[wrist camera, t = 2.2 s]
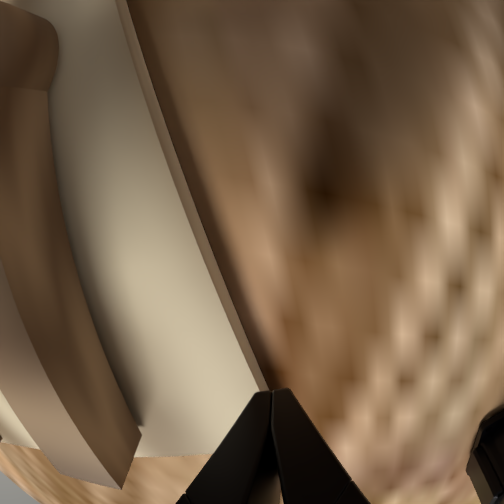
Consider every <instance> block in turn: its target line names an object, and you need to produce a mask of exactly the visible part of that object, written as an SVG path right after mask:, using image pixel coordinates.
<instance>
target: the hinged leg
mask: <svg viewBox="0 0 504 504" xmlns="http://www.w3.org/2000/svg"><path fill="white" fill-rule="evenodd" d="M58 56H59V41H58V35H57V32H56V30H55V28H54V26H53V25H52V24H51V23H50V22H49V21H48V20H47V19H45V18H42V17H40V16H38V15H35V14H33V13H30V12H28V11H26V10H23V9H21V8H18V7H16V6H13V5H11V4H8V3H5V2H3V1H0V390H1V392H2V394H3V395H4V397H5V399H6V400H7V402H8V403H9V405H10V407H11V408H12V410H13V411H14V413H15V414H16V416H17V417H18V419H19V420H20V422H21V423H22V425H23V426H24V428H25V429H26V431H27V432H28V433H29V435H30V436H31V438H32V439H33V440H34V442H35V443H36V444H37V446H38V447H39V448H40V450H41V451H42V452H43V453H44V455H45V456H46V457H47V458H48V460H49V461H50V462H51V463H52V465H53V466H54V467H55V468H56V469H57V471H58V472H59V473H60V474H63V475H66V476H69V477H73V478H76V479H80V480H83V481H87V482H91V483H94V484H98V485H102V486H107V487H111V488H116V489H120V490H122V487H123V485H124V482H125V479H126V476H127V474H128V471H129V468H130V466H131V463H132V460H133V458H134V455H135V453H136V450H137V447H138V445H139V442H140V439H141V437H142V434H141V432H140V430H139V428H138V426H137V424H136V422H135V420H134V418H133V416H132V414H131V412H130V410H129V408H128V406H127V404H126V402H125V400H124V397H123V395H122V393H121V391H120V389H119V386H118V384H117V382H116V380H115V377H114V375H113V373H112V370H111V368H110V365H109V363H108V361H107V358H106V356H105V353H104V351H103V348H102V345H101V343H100V340H99V337H98V335H97V332H96V329H95V326H94V324H93V321H92V318H91V315H90V312H89V309H88V306H87V303H86V300H85V297H84V294H83V290H82V287H81V284H80V280H79V277H78V273H77V270H76V266H75V263H74V259H73V255H72V251H71V247H70V243H69V239H68V235H67V231H66V226H65V222H64V217H63V212H62V207H61V202H60V197H59V191H58V186H57V180H56V173H55V167H54V159H53V152H52V144H51V134H50V124H49V112H48V95H47V91H48V89H49V87H50V85H51V82H52V80H53V77H54V74H55V71H56V67H57V62H58Z"/></svg>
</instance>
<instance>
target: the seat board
mask: <svg viewBox="0 0 504 504" xmlns="http://www.w3.org/2000/svg"><path fill="white" fill-rule="evenodd" d="M0 1H3V2H5V3H8V4H11V5H13V6H16V7H18V8H21V9H23V10H26V11H28V12H30V13H33V14H35V15H38V16H40V17H42V18H45V19H47V20H48V21H49V22H50V23H51V24H52V25H53V26H54V28H55V30H56V32H57V35H58V41H59V56H58V62H57V67H56V71H55V74H54V77H53V80H52V82H51V85H50V87H49V89H48V91H47V95H48V112H49V124H50V134H51V144H52V152H53V159H54V167H55V173H56V180H57V186H58V191H59V197H60V202H61V207H62V212H63V217H64V222H65V226H66V231H67V235H68V239H69V243H70V247H71V251H72V255H73V259H74V263H75V266H76V270H77V273H78V277H79V280H80V284H81V287H82V290H83V294H84V297H85V300H86V303H87V306H88V309H89V312H90V315H91V318H92V321H93V324H94V326H95V329H96V332H97V335H98V337H99V340H100V343H101V345H102V348H103V351H104V353H105V356H106V358H107V361H108V363H109V365H110V368H111V370H112V373H113V375H114V377H115V380H116V382H117V384H118V386H119V389H120V391H121V393H122V395H123V397H124V400H125V402H126V404H127V406H128V408H129V410H130V412H131V414H132V416H133V418H134V420H135V422H136V424H137V426H138V428H139V430H140V432H141V434H142V437H141V439H140V442H139V445H138V447H137V450H136V453H135V455H134V457H170V456H190V455H203V454H213V453H214V452H215V450H216V449H217V447H218V446H219V445H220V443H221V442H222V440H223V439H224V438H225V436H226V435H227V433H228V432H229V430H230V429H231V427H232V426H233V424H234V423H235V422H236V420H237V419H238V417H239V416H240V414H241V413H242V411H243V410H244V408H245V407H246V405H247V404H248V402H249V401H250V399H251V397H252V396H253V394H254V393H255V392H259V391H267V390H269V389H268V386H267V384H266V382H265V379H264V377H263V375H262V372H261V370H260V368H259V365H258V363H257V361H256V358H255V356H254V353H253V351H252V349H251V346H250V344H249V342H248V339H247V337H246V334H245V332H244V329H243V327H242V325H241V322H240V320H239V317H238V315H237V312H236V310H235V307H234V305H233V303H232V300H231V298H230V295H229V293H228V290H227V288H226V285H225V283H224V280H223V277H222V275H221V272H220V270H219V267H218V265H217V262H216V260H215V257H214V254H213V252H212V249H211V247H210V244H209V242H208V239H207V236H206V234H205V231H204V228H203V226H202V223H201V220H200V218H199V215H198V212H197V210H196V207H195V204H194V202H193V199H192V196H191V194H190V191H189V188H188V185H187V183H186V180H185V177H184V174H183V172H182V169H181V166H180V163H179V161H178V158H177V155H176V152H175V149H174V146H173V144H172V141H171V138H170V135H169V132H168V129H167V126H166V124H165V121H164V118H163V115H162V112H161V109H160V106H159V103H158V100H157V97H156V94H155V91H154V88H153V85H152V82H151V79H150V76H149V73H148V70H147V67H146V64H145V60H144V57H143V54H142V51H141V48H140V45H139V42H138V38H137V35H136V32H135V29H134V25H133V22H132V19H131V15H130V12H129V9H128V5H127V2H126V0H0ZM0 442H4V443H8V444H13V445H18V446H23V447H29V448H35V449H40V448H39V447H38V446H37V444H36V443H35V442H34V440H33V439H32V438H31V436H30V435H29V433H28V432H27V431H26V429H25V428H24V426H23V425H22V423H21V422H20V420H19V419H18V417H17V416H16V414H15V413H14V411H13V410H12V408H11V407H10V405H9V403H8V402H7V400H6V399H5V397H4V395H3V394H2V392H1V390H0Z"/></svg>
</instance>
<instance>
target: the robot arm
mask: <svg viewBox="0 0 504 504" xmlns="http://www.w3.org/2000/svg"><path fill="white" fill-rule="evenodd" d="M466 473H467V475H469V476H470V479H471V481H472V483H473V485H474V488H475V490H476V492H477V495H478V497H479V499H480V502H481V504H504V411H502V412H501V413H499V414H497V415H495V416H494V417H492V418H490V419H488V420H487V421H485V422H484V423H483V424H482V425H481V426H480V428H479V431H478V434H477V438H476V441H475V444H474V448H473V451H472V454H471V457H470V460H469V462H468V465H467V468H466ZM280 491H282V497H283V502H284V504H371V503H370V502H369V501H368V499H367V498H366V497H365V496H364V494H363V493H362V492H361V491H360V489H359V488H358V486H357V485H356V484H355V482H354V481H352V479H351V477H350V476H349V474H348V473H347V471H346V470H345V469H344V467H343V466H342V464H341V463H340V462H339V460H338V459H337V457H336V456H335V454H334V453H333V452H332V450H331V449H330V447H329V446H328V444H327V443H326V442H325V440H324V439H323V437H322V436H321V434H320V433H319V431H318V430H317V428H316V427H315V426H314V424H313V423H312V421H311V420H310V418H309V417H308V415H307V414H306V412H305V411H304V409H303V408H302V406H301V405H300V403H299V402H298V400H297V399H296V397H295V396H294V394H293V393H292V391H291V390H290V389H289V388H282V389H275V390H273V392H272V391H270V390H267V391H259V392H255V393H254V394H253V396H252V397H251V399H250V401H249V402H248V404H247V405H246V407H245V408H244V410H243V411H242V413H241V414H240V416H239V417H238V419H237V420H236V422H235V423H234V424H233V426H232V427H231V429H230V430H229V432H228V433H227V435H226V436H225V438H224V439H223V440H222V442H221V443H220V445H219V446H218V447H217V449H216V450H215V452H214V453H213V455H212V456H211V457H210V459H209V460H208V461H207V463H206V464H205V466H204V467H203V468H202V470H201V471H200V472H199V474H198V475H197V476H196V478H195V479H194V480H193V482H192V483H191V484H190V486H189V487H188V488H187V490H186V491H185V492H186V494H183V495H182V496H181V497H180V499H179V500H178V501H177V502H176V504H279V503H280Z"/></svg>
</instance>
